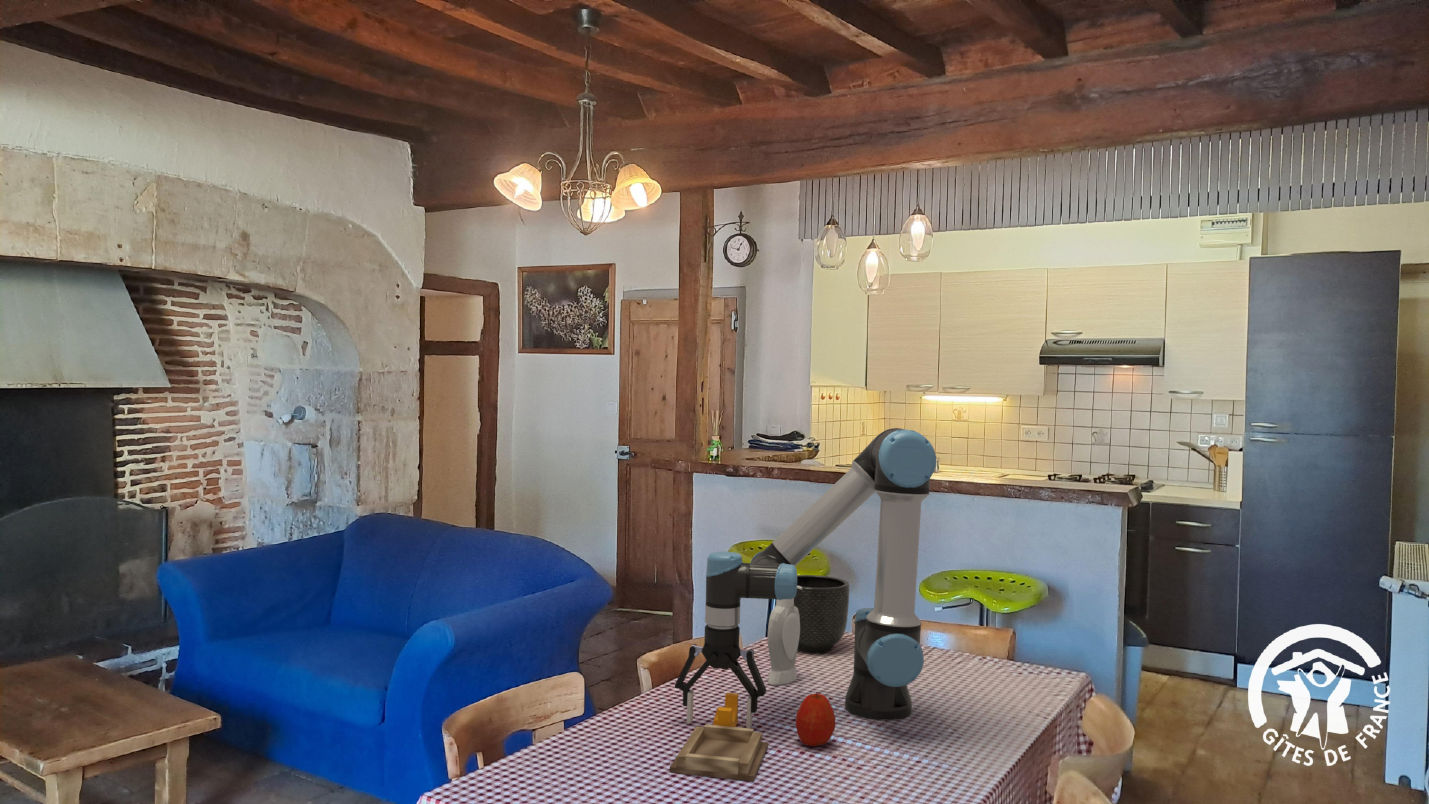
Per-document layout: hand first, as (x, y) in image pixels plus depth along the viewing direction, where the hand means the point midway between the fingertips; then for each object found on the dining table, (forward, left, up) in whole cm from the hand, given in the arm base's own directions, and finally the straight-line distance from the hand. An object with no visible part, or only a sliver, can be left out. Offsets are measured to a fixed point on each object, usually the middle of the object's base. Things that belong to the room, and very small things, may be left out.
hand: (719, 724), depth 209 cm
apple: (-21, +6, 0) cm, 22 cm away
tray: (-4, +19, 0) cm, 19 cm away
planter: (-13, -70, 0) cm, 71 cm away
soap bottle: (-10, -36, 0) cm, 37 cm away
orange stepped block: (-2, +3, -1) cm, 3 cm away
